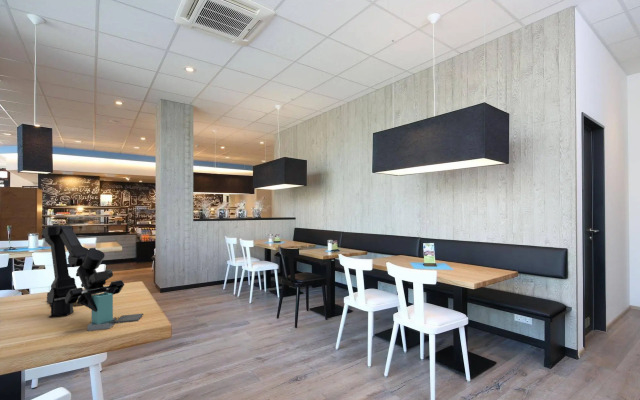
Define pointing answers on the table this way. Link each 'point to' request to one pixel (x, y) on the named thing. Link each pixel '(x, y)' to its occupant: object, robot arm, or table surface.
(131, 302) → the table surface
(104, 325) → the steel stand
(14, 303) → the table surface
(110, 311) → the teal sleeve
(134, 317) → the rubber mat
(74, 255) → the robot arm
